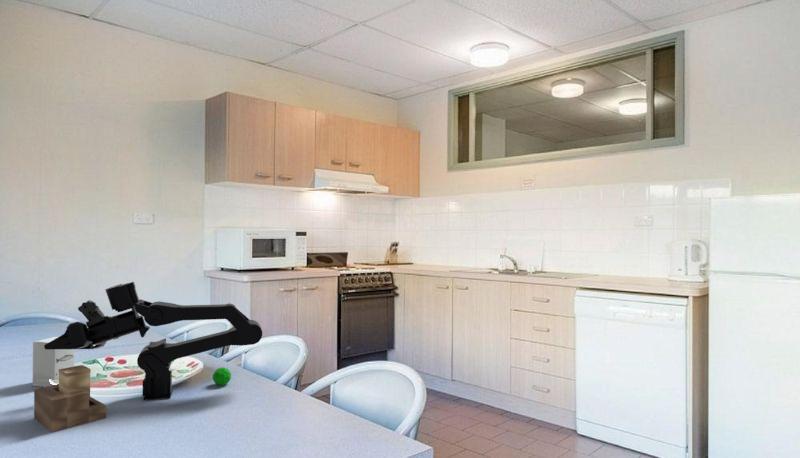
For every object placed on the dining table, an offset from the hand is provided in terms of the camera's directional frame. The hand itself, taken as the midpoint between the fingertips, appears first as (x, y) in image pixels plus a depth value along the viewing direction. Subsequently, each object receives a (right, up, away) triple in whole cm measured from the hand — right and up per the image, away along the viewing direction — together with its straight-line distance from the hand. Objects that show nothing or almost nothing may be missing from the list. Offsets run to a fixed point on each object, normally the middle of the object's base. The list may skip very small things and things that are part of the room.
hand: (51, 347), depth 133 cm
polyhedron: (+37, -15, +19) cm, 44 cm away
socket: (+10, -15, -7) cm, 20 cm away
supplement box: (-11, -15, +18) cm, 26 cm away
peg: (+10, -11, -7) cm, 17 cm away
